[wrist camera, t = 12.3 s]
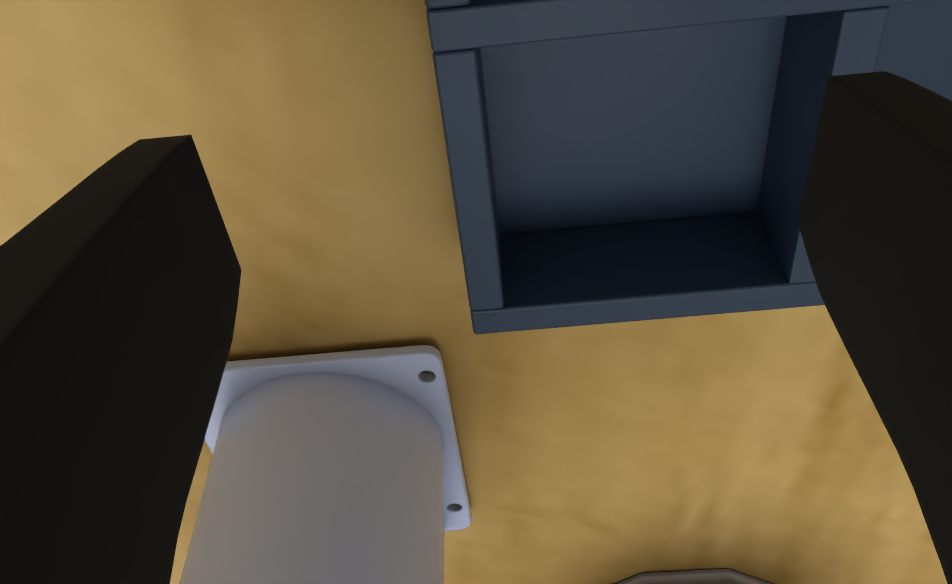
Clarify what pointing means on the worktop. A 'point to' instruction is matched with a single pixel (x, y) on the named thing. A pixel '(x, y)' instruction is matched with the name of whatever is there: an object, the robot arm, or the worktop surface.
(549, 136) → the divided tray
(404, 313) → the worktop surface
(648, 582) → the can
